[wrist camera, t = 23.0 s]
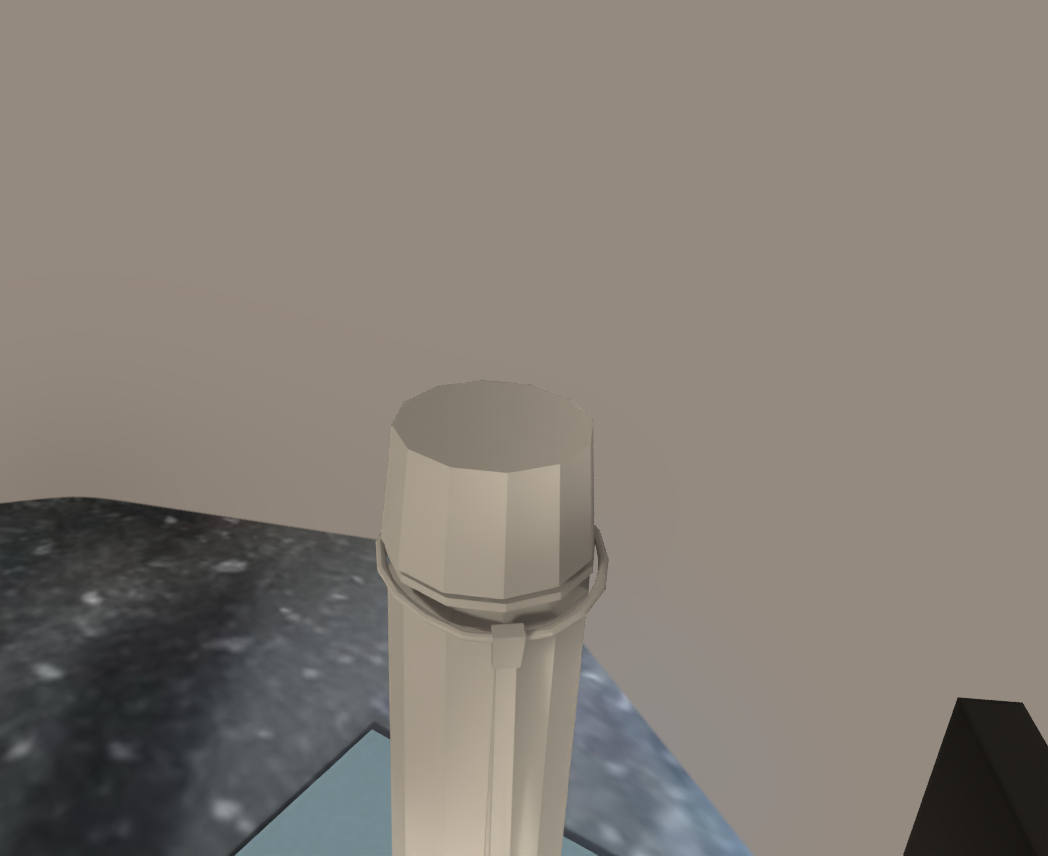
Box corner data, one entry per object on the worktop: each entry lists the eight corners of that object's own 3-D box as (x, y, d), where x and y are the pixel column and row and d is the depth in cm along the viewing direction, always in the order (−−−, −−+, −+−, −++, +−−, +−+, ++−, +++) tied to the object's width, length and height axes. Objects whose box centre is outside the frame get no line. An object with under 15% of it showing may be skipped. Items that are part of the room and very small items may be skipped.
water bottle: (383, 861, 44) (371, 376, 33) (547, 846, 45) (592, 372, 34) (388, 1068, 36) (374, 519, 25) (587, 1042, 37) (663, 508, 26)
